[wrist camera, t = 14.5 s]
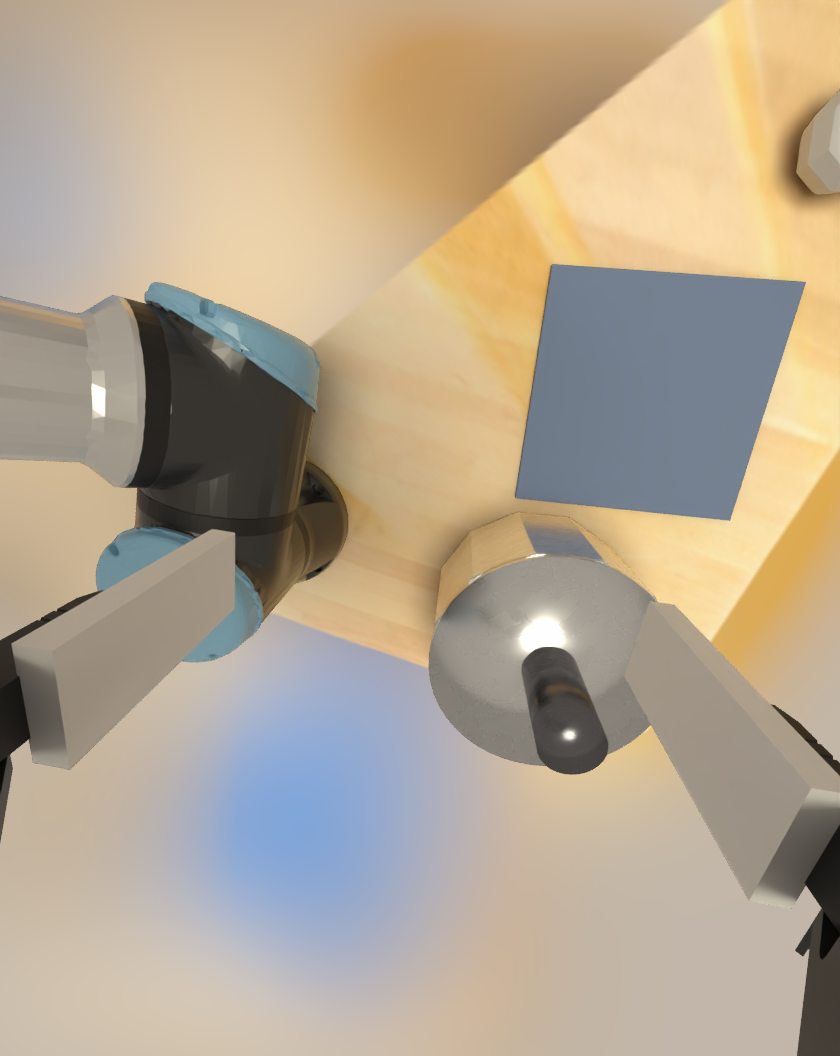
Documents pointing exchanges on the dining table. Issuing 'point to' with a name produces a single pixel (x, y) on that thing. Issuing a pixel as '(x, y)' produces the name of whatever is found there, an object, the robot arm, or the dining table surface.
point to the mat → (651, 388)
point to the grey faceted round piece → (822, 150)
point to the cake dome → (538, 643)
